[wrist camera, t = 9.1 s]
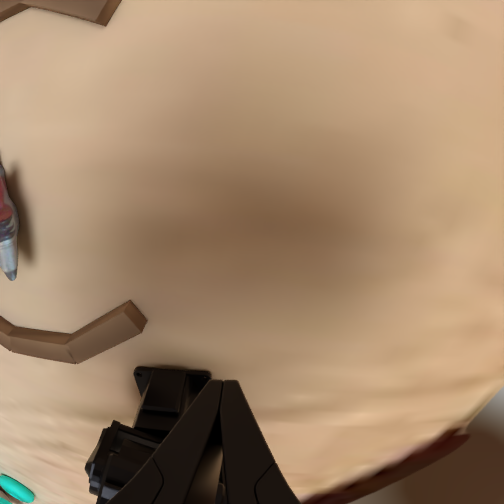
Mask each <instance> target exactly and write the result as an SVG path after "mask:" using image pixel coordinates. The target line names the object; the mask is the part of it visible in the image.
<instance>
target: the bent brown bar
mask: <svg viewBox="0 0 504 504" xmlns="http://www.w3.org/2000/svg"><path fill="white" fill-rule="evenodd" d="M120 1H121V0H0V22H1V21H3V20H5V19H7V18H8V17H10V16H12V15H15V14H17V13H19V12H21V11H23V10H25V9H27V8H29V7H36V8H40V9H45V10H49V11H53V12H57V13H61V14H65V15H69V16H73V17H77V18H80V19H84V20H87V21H91V22H94V23H97V24H100V25H104V26H106V25H107V23H108V21H109V20H110V18H111V16H112V15H113V13H114V11H115V10H116V8H117V6H118V5H119V3H120ZM146 322H147V320H146V319H145V317H144V316H143V315H142V314H141V313H140V311H139V310H138V309H137V308H136V307H135V305H134V304H133V303H132V302H131V300H130V301H128V302H126V303H124V304H123V305H121V306H119V307H117V308H116V309H114V310H112V311H111V312H109V313H107V314H105V315H104V316H102V317H100V318H99V319H97V320H95V321H93V322H92V323H90V324H88V325H87V326H85V327H83V328H82V329H80V330H78V331H76V332H75V333H73V334H65V333H57V332H49V331H42V330H35V329H28V328H22V327H15V326H14V325H12V324H11V323H9V322H8V321H7V320H5V319H4V318H2V317H1V316H0V344H1V345H2V346H4V347H5V348H6V349H8V350H9V351H12V352H14V353H18V354H23V355H28V356H33V357H38V358H43V359H48V360H54V361H59V362H65V363H72V364H76V363H77V364H79V363H81V362H83V361H85V360H87V359H89V358H91V357H93V356H95V355H97V354H100V353H102V352H104V351H106V350H108V349H110V348H112V347H114V346H116V345H118V344H120V343H122V342H124V341H126V340H128V339H130V338H132V337H134V336H136V335H138V334H140V333H142V331H143V329H144V327H145V324H146Z"/></svg>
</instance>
